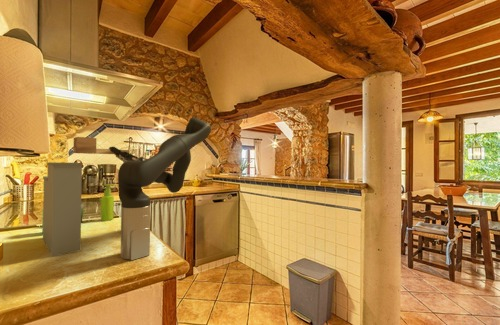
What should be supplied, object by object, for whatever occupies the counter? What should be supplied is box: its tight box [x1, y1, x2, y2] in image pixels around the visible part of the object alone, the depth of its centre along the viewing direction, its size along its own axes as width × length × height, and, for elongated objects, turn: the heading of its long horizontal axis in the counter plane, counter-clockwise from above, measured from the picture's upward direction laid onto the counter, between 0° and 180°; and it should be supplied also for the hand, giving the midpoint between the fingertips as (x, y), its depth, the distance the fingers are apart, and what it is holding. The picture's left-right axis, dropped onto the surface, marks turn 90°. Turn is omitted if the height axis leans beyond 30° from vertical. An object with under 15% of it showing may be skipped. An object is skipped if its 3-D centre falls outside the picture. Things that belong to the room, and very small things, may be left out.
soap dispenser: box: [100, 183, 116, 222], centre depth 127 cm, size 6×7×20 cm
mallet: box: [72, 136, 130, 155], centre depth 95 cm, size 7×19×6 cm, turn 138°
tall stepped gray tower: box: [42, 162, 84, 258], centre depth 89 cm, size 26×8×32 cm, turn 47°
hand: (110, 148), depth 97 cm, fingers closed on mallet, 2 cm apart
